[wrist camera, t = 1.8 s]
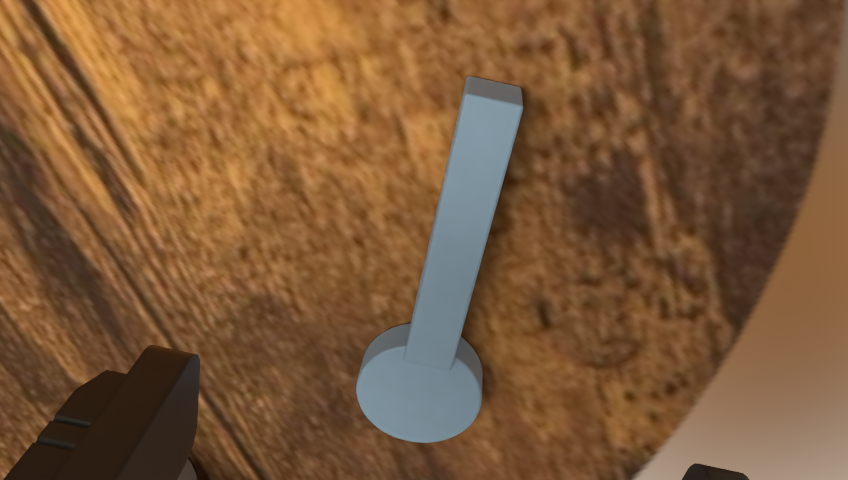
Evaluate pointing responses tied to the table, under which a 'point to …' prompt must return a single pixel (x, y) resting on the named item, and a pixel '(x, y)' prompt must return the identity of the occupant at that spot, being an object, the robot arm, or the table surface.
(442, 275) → the spoon
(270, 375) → the table surface
